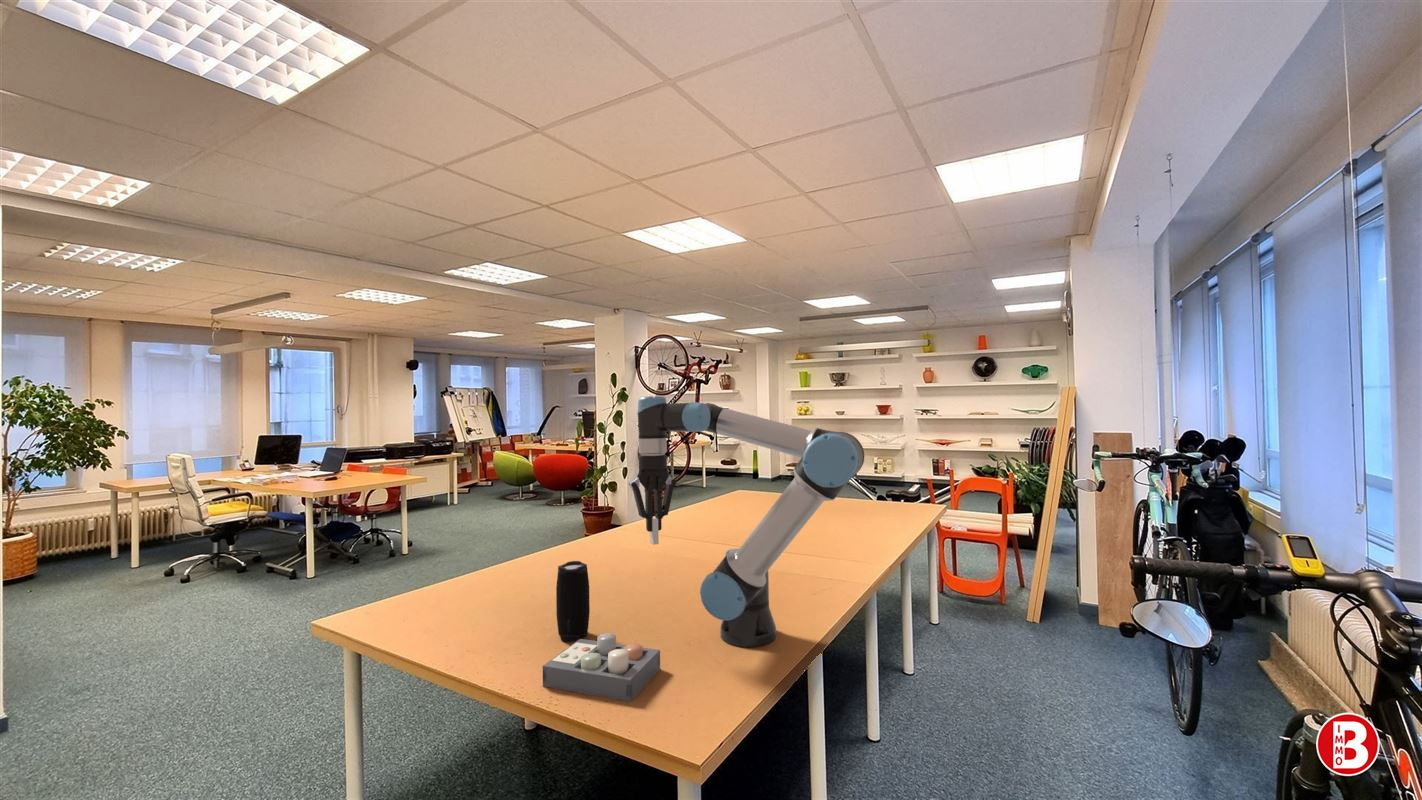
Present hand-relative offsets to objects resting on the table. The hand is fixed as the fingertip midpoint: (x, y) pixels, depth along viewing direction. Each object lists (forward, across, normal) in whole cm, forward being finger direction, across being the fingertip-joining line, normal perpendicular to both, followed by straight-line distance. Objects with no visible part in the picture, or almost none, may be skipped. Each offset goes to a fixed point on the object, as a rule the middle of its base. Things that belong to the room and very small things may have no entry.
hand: (654, 543), depth 141 cm
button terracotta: (+25, +10, +13) cm, 30 cm away
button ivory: (+23, +15, +18) cm, 33 cm away
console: (+26, +17, +11) cm, 33 cm away
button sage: (+25, +20, +13) cm, 35 cm away
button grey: (+23, +15, +8) cm, 29 cm away
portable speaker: (+27, +18, -16) cm, 36 cm away
